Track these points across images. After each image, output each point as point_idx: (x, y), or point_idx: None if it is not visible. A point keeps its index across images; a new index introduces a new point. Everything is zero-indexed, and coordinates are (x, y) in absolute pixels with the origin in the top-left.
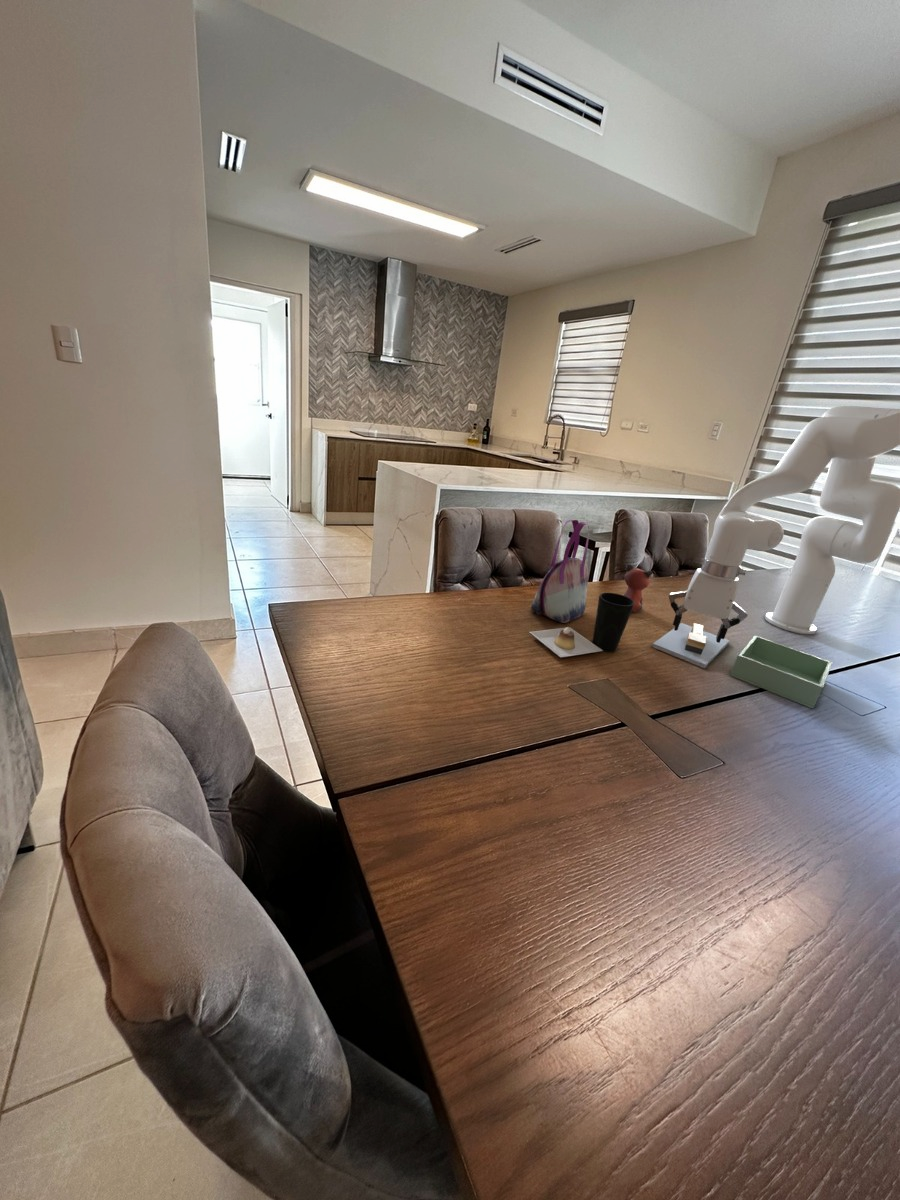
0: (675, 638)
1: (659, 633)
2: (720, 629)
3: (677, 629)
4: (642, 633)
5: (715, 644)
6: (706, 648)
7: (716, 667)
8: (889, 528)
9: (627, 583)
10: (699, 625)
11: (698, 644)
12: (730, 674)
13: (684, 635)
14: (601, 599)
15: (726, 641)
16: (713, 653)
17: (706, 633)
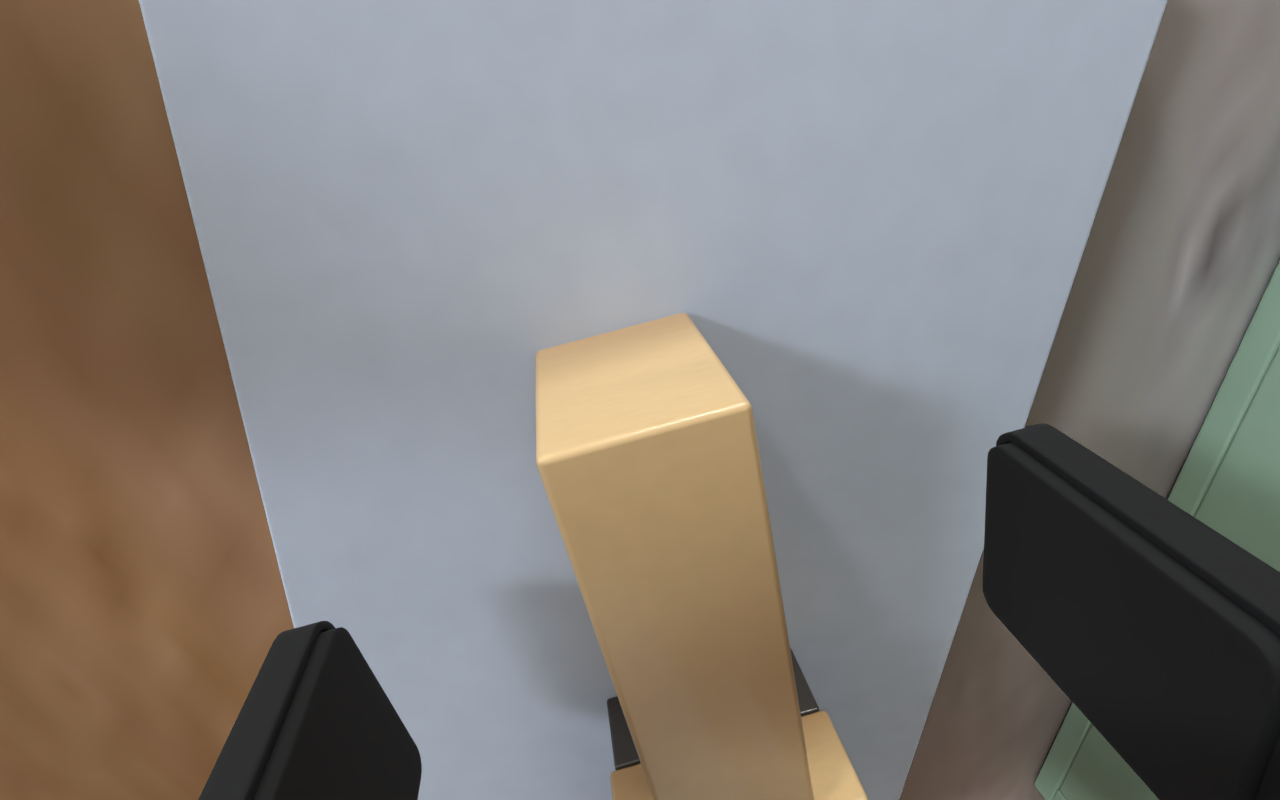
0: (466, 705)
1: (201, 603)
2: (1162, 750)
3: (418, 785)
4: (95, 780)
5: (939, 403)
6: (842, 628)
7: (937, 761)
8: None
9: None
10: (683, 488)
11: None
12: (1041, 794)
13: (504, 517)
14: None
15: (1118, 87)
16: (921, 669)
17: (766, 20)
